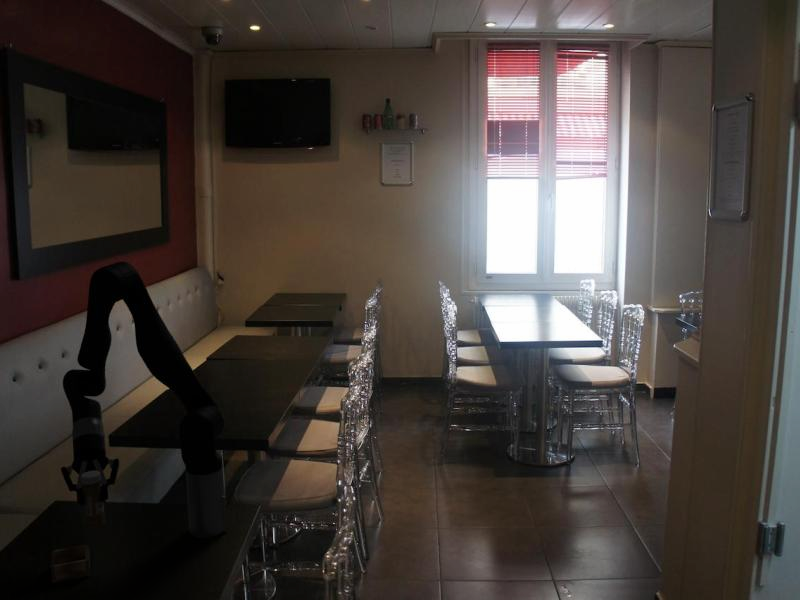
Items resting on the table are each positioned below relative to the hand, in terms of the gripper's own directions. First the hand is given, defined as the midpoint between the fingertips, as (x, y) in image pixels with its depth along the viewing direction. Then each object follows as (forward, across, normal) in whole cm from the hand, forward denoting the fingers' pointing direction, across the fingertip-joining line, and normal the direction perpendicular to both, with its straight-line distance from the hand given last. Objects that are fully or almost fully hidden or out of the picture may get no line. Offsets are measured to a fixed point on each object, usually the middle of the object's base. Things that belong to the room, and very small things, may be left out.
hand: (93, 502), depth 182 cm
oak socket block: (+14, -6, +5) cm, 16 cm away
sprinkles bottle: (+3, 0, +6) cm, 7 cm away
